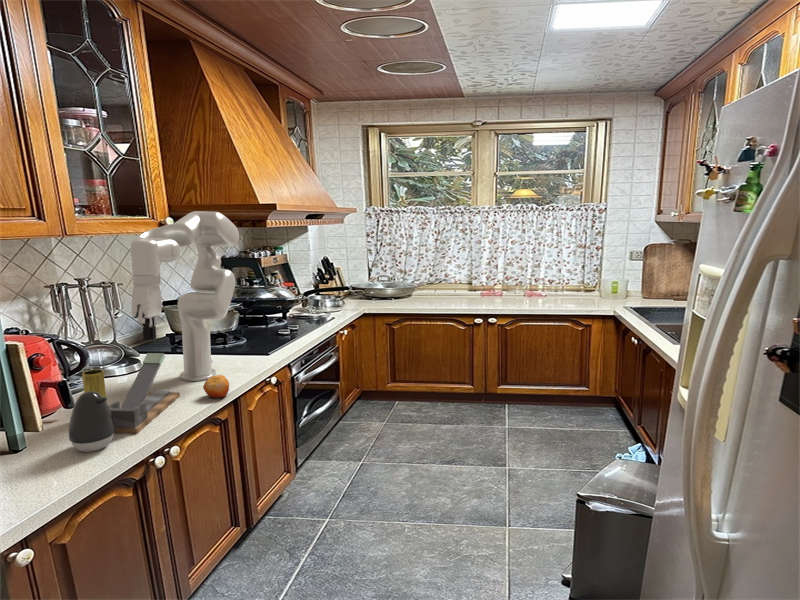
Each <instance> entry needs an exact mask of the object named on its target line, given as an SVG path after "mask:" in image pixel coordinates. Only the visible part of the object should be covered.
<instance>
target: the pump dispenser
mask: <svg viewBox="0 0 800 600" xmlns="http://www.w3.org/2000/svg"><path fill="white" fill-rule="evenodd" d="M106 400H108V398H107V396H106V397H102V396H101V395H100V394H99V393H97V392H95V391H88V392H85V393H84V392H82V393H81V394H80V395H79V396H78V398H77V399H76V401H75V403H74V405H73V408H72V411H71V414H70V420H69V424H68V425H69V426H68V440H69V441H70V442H71V445H72V446H73V447H74V448H75V449H76V450H77V451H80V452H85V453H91V452H96V451H99V450H103V448H106V447H107V446H108V445H109V444H110V443H111V442H112V441H113V440H112V439H113V438H114V435H115V434H114V432H115V424H114V420H113V416H112V414H111V411H110V409H109V407H108V406H109V405H108V402H107V403H106Z"/></svg>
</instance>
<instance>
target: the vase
mask: <svg viewBox="0 0 800 600" xmlns="http://www.w3.org/2000/svg"><path fill="white" fill-rule="evenodd" d="M81 376H82V384H83V386H82V387H83V393H85V392H88V391H95V392H97V393H99V394H100V395H101V396H102V397H107V391H106V382H105V372H104V370H103V369H101V368H95V369H93V368H92V369H89V370H85V371H83V372H82V375H81ZM107 400H108V399H107ZM107 400H106V403H107V404H108V401H107Z"/></svg>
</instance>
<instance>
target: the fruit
mask: <svg viewBox="0 0 800 600" xmlns="http://www.w3.org/2000/svg"><path fill="white" fill-rule="evenodd" d="M203 390H204V391H205V394H206V395H207V396H208V397H209V398H210V399H218V398H225V397H227V395H228V393H229V390H230V382H229V380H228V379H227V378H226V376H225V375H223V374H216V375H215V376H212V377H210V378H209V379H206V380H205V382H204V384H203Z"/></svg>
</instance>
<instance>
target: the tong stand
mask: <svg viewBox="0 0 800 600" xmlns="http://www.w3.org/2000/svg"><path fill="white" fill-rule="evenodd" d="M180 395H181V392H179V391H178V392H177V391H172V392H171V390H164V389H162V390H161V389H154V391H148V393H147V395H146V397H145V399H144V401H143V402H142V403H140V404H139V405H138V406H136V407H135V408H121V405H120V403H121V402H120V400H115V401H114V402H112V403H110V404H109V405H108V407H109V409H110V411H111V414H112V416H113V420H114V424H115V432H114V435H115V434H117V435H121V434H123V435H125V434H126V435H137V434H139V433H140V432H141V431H142V430H144V428H146V427H147V426H148V425H149V424H150V423H152V422H153V421H154V420H155V419H156V418H157V417H159V415H161V414H162V413H163V412H164V411H165V410H166V409H167V408H169V407H170V406H171V405H172V404H173V403H175V402H176V401H177V400H178V399H179V398H180V397H181V396H180ZM176 399H177V400H176ZM169 405H170V406H169ZM168 406H169V407H168ZM161 412H162V413H161ZM160 413H161V414H160ZM154 418H155V419H154ZM153 419H154V420H153ZM152 420H153V421H152ZM145 426H146V427H145Z"/></svg>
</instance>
